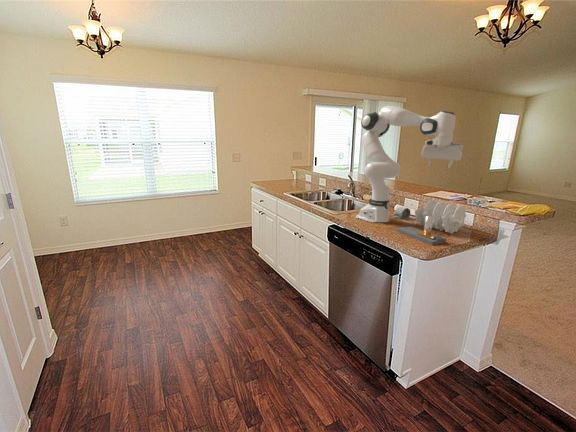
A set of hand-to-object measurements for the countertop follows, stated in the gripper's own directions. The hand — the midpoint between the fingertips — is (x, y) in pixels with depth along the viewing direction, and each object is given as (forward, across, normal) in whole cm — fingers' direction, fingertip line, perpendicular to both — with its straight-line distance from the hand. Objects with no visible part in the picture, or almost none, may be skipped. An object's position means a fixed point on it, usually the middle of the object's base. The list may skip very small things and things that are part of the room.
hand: (438, 167), depth 166 cm
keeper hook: (+35, -10, +21) cm, 42 cm away
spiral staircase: (+39, -4, -5) cm, 39 cm away
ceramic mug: (+40, +24, -15) cm, 49 cm away
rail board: (+38, 0, +16) cm, 41 cm away
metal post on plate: (+35, -5, +18) cm, 40 cm away
